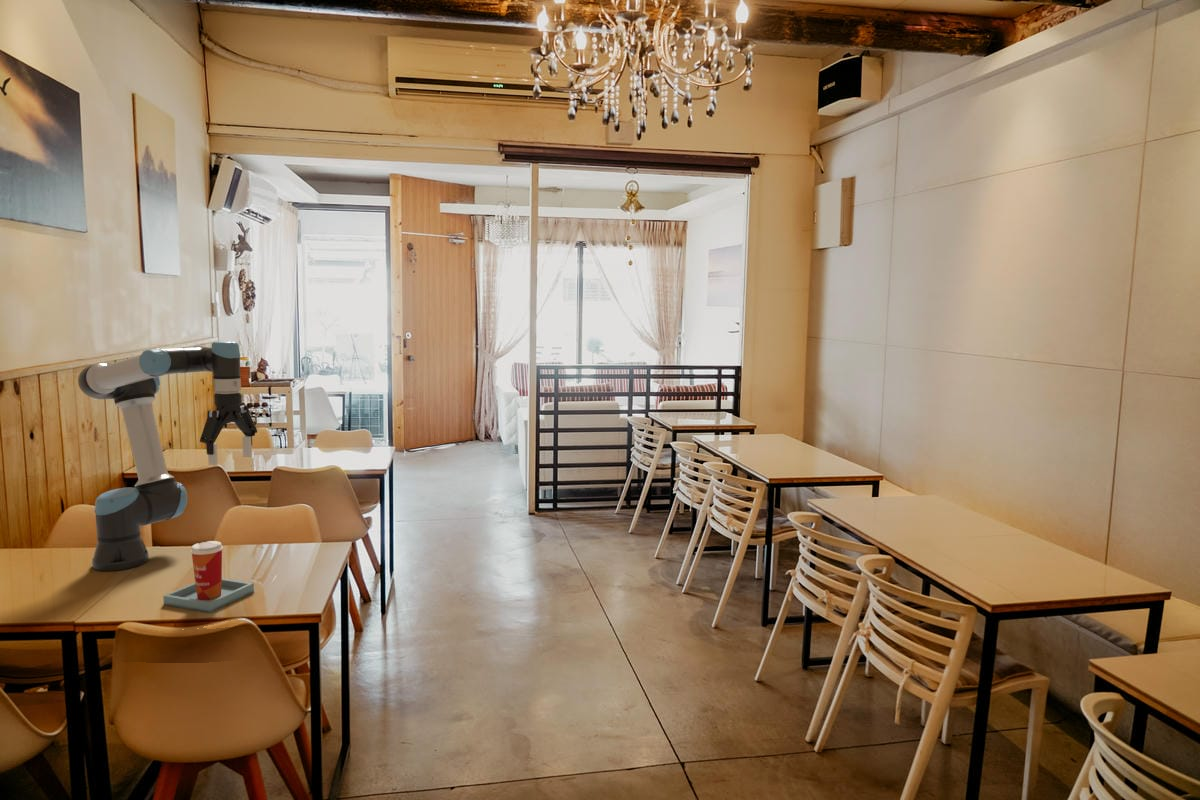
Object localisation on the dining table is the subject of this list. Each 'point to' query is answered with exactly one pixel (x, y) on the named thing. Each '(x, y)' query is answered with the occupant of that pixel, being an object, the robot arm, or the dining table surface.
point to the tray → (189, 600)
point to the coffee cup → (207, 569)
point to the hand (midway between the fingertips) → (230, 460)
